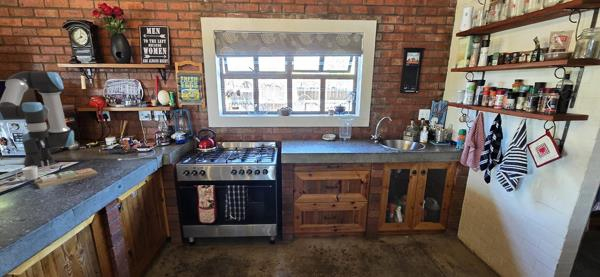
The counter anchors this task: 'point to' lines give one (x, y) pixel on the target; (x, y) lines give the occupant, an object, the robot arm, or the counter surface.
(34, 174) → the cup
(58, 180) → the board
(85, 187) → the counter surface
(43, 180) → the tile
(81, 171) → the tile
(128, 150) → the figurine
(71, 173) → the tile
